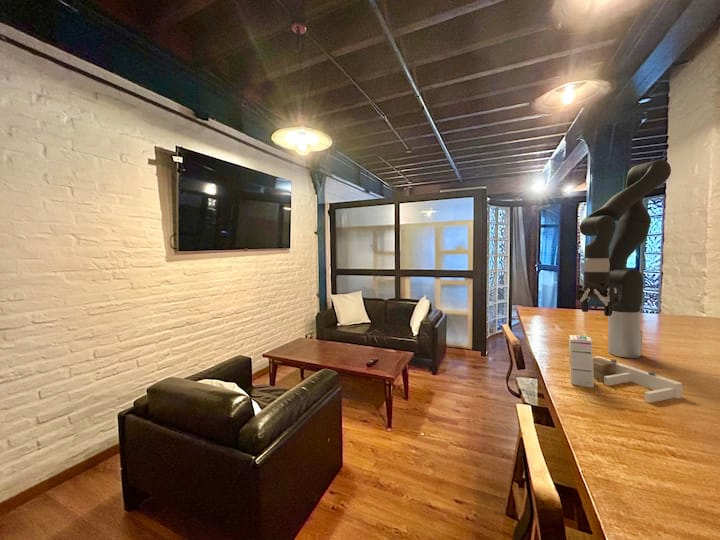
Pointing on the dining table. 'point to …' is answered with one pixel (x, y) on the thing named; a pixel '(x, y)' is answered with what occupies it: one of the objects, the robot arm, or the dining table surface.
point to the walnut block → (603, 368)
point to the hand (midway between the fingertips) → (595, 313)
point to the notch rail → (645, 382)
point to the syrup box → (581, 360)
